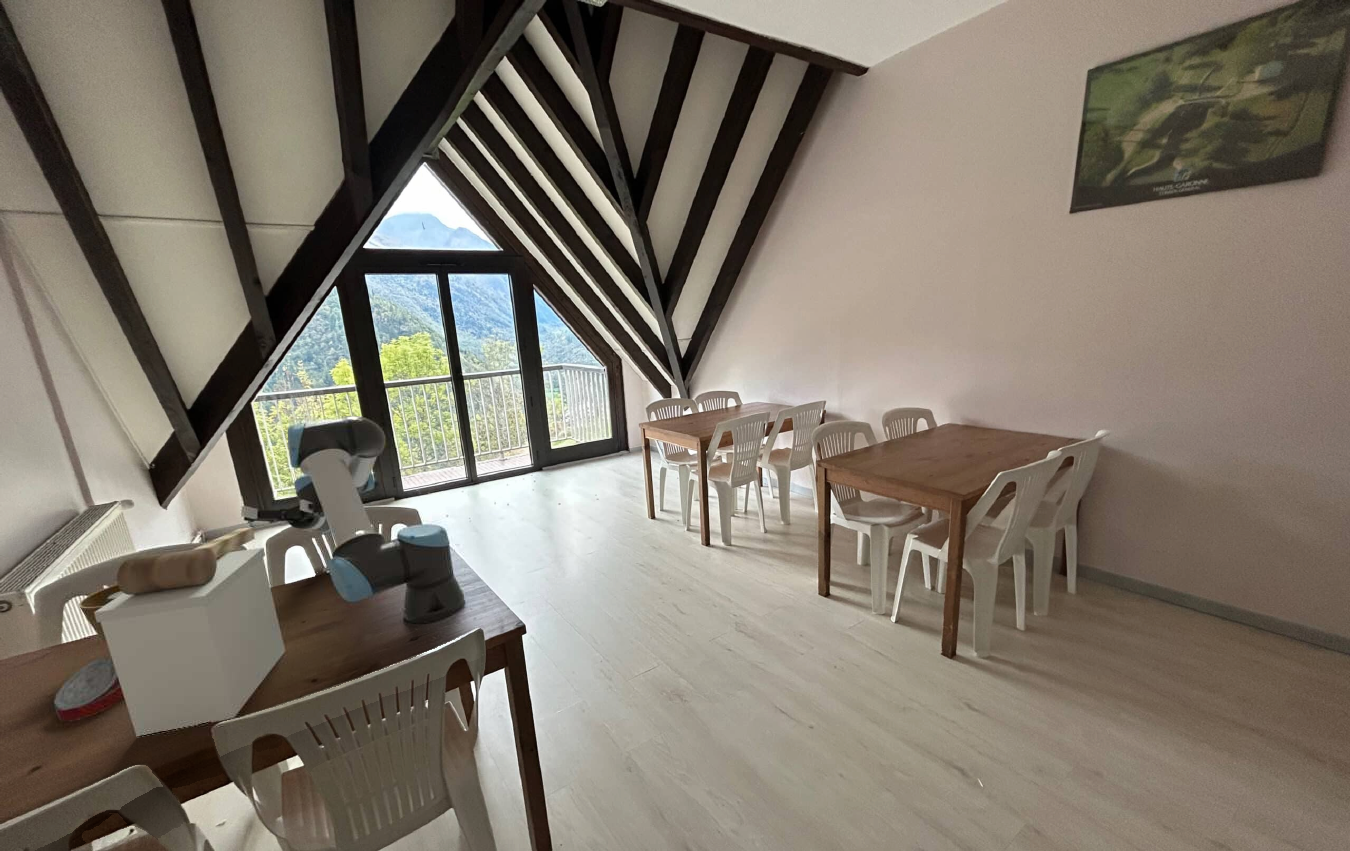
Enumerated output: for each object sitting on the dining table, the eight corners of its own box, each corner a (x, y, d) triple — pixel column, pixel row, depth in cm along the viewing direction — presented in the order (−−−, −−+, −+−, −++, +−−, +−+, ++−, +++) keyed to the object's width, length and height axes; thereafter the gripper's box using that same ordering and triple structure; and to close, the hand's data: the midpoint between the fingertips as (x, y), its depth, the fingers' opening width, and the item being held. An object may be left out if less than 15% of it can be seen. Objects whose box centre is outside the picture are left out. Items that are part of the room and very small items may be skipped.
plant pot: (197, 634, 132) (182, 578, 129) (122, 672, 118) (103, 610, 115) (159, 627, 136) (143, 572, 133) (83, 663, 122) (63, 603, 119)
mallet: (196, 589, 99) (190, 554, 98) (120, 600, 96) (114, 564, 95) (276, 543, 128) (272, 516, 127) (220, 551, 125) (215, 523, 125)
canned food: (132, 713, 112) (134, 683, 108) (62, 741, 103) (61, 709, 100) (117, 676, 116) (118, 645, 113) (48, 700, 108) (47, 668, 104)
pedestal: (237, 717, 103) (204, 595, 97) (133, 738, 98) (93, 612, 93) (287, 650, 123) (263, 547, 118) (204, 665, 119) (175, 559, 114)
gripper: (351, 523, 161) (324, 515, 141) (258, 535, 154) (216, 527, 135) (351, 500, 163) (325, 488, 143) (259, 510, 156) (218, 499, 136)
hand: (272, 507), depth 139 cm, fingers open, 13 cm apart
